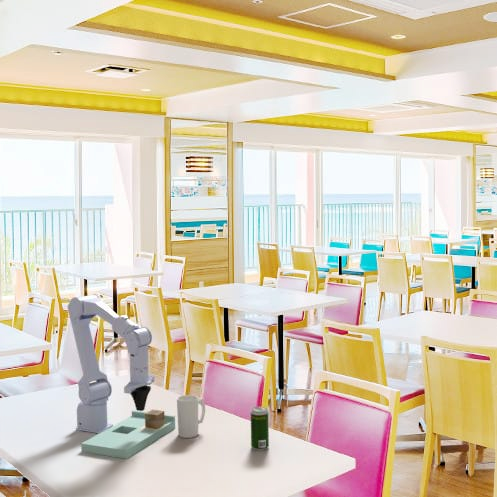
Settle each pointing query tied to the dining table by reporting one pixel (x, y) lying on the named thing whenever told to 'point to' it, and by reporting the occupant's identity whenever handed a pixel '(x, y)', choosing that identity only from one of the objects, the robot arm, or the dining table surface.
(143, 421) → the board
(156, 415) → the walnut block
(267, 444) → the beer can
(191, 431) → the mug
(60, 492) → the dining table surface
